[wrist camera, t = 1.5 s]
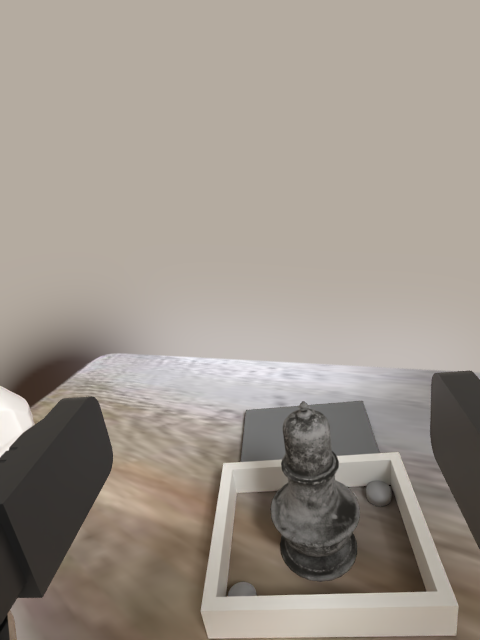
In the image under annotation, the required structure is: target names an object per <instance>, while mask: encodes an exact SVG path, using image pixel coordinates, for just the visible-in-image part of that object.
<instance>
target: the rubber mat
mask: <svg viewBox="0 0 480 640" xmlns="http://www.w3.org/2000/svg"><path fill="white" fill-rule="evenodd" d="M309 406H310V408H309V409H313V410H317V411H319V412H321V413H322V414H323V415H324V416H325V417H326V418H327V419H328V422H329V425H330V435H331V448H332V451H333V452H334V453H335V454H336V456H344V455H360V454H375V453H380V452H379V449H378V446H377V443H376V440H375V437H374V434H373V431H372V428H371V425H370V422H369V419H368V416H367V413H366V410H365V407H364V404H363V401H354V402H341V403H329V404H316V405H309ZM296 410H299V409H298V406H291V407H279V408H266V409H253V410H246V416H245V425H244V435H243V445H242V454H241V462H251V461H266V460H282V458H283V457H284V455H285V454H286V452H285V444H284V437H283V423H284V420H285V419H286V418H287V416H288V415H289V414H291V413H292V412H294V411H296Z"/></svg>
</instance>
